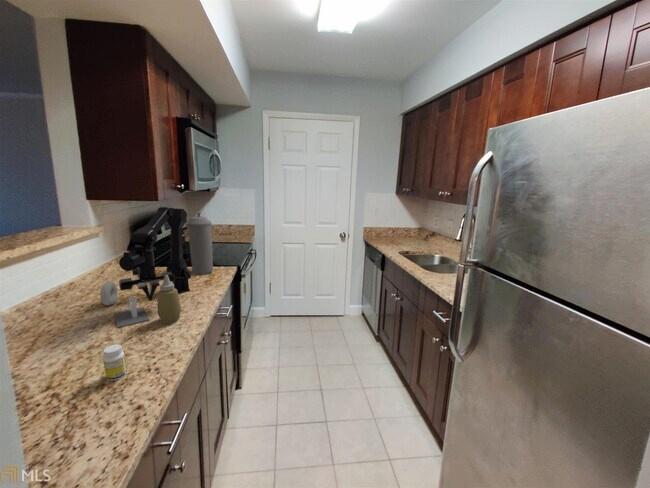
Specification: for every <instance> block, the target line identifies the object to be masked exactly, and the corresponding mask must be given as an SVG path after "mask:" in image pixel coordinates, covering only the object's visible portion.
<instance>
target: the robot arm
mask: <svg viewBox="0 0 650 488" xmlns="http://www.w3.org/2000/svg"><path fill="white" fill-rule="evenodd" d="M187 218H188V212H187V211H186V210H185V209H184V208H178V207H177V208H173V207H170V206H160V207H158V208H157V211H156V213H155V214H154V215H153V216H152V217H151V219H150V220H149V221H148V222H147V223H146V225H145V226H143V227H140V228H138V229H137V230H135V231H134V232H133V233H132V235H131V237H130V240H129V242H128V244H127V248H126V251H124V252H123V253H122V255H123V256H122V257H120V259H119V261H118V265H119V267H120V268H121V269H122V270H123V271H126V272H130V271H132V276H137V278H138V279H134V280H133V279H132V277H127V278H123V279H121V278H120V279H119V281H118V285H119V289H120V291H126V290H131V289H132V288H133V287H134V286H135V285H136V286H137V288H138V290H142V291H143V293H145V295H146V297H147V299H148V301H149V302H151V301H152V300H153V298H154V294H155V292H156V290H157V288H158V287H160V285H161V284H160V281H164V275H168V277H169V280H170V283H173V284H174V288H175V289H177V291H178V294H179V293H184V292H185V293H186V292H189V291H191V289H190V285H189V283H190V282H189V280H190V279H191V278H192V274H193V272H191V270H190V269H189V268H188V264H187V262H186V260H185V259H184V249H183V247H184V246H183V245H184V243H183V241H184V240H183V236H184V235H183V228H184V226H185V224H186V223H187ZM165 223H167V225H168V226H169V227H170V260H169V261H168V262H167V263H166V271H165V272H162V273H161V275H156V265H155V256H154V255H155V254H154V251H156V250H157V247H155V246H154V245H155V243H156V241H157V240H158V235H157V234H158V233H159V232H160V230H161V228H162V227H163V226H164V225H165ZM147 284H149V287H148V285H147Z"/></svg>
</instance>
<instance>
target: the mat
mask: <svg viewBox="0 0 650 488" xmlns="http://www.w3.org/2000/svg"><path fill="white" fill-rule="evenodd" d="M113 314H114V318H115V323H116V326H117V327H116V328H117V329H119V328H125V327H128V326H133V325H137V324H140V323H145V322H148V321H150V318H149V316H148V314H147V311H146V310H145V308H144V306H141V307H137V317H135V318H132V315H131V312H130V309H128V310H124V311H123V310H122V311H118V312H114V313H113Z"/></svg>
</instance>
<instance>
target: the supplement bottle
mask: <svg viewBox="0 0 650 488" xmlns="http://www.w3.org/2000/svg"><path fill="white" fill-rule="evenodd" d="M125 355H126V354H125V352H124V351H123V346H122V345H121V344H117V343H116V344H112V345H109V346H106V347H105V348H104V349H103V358H102V361H103V367H104V372H105V373H104V374H105V378H106V380H107V381H109V380H110V381H109V382H112V381H113V380H114V381H118V380H121V379H122V378H124V377H125V376H126V375H127V374H128V369H127V363H126V361H127V360H126V356H125ZM120 378H121V379H120ZM114 381H113V382H114Z"/></svg>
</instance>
